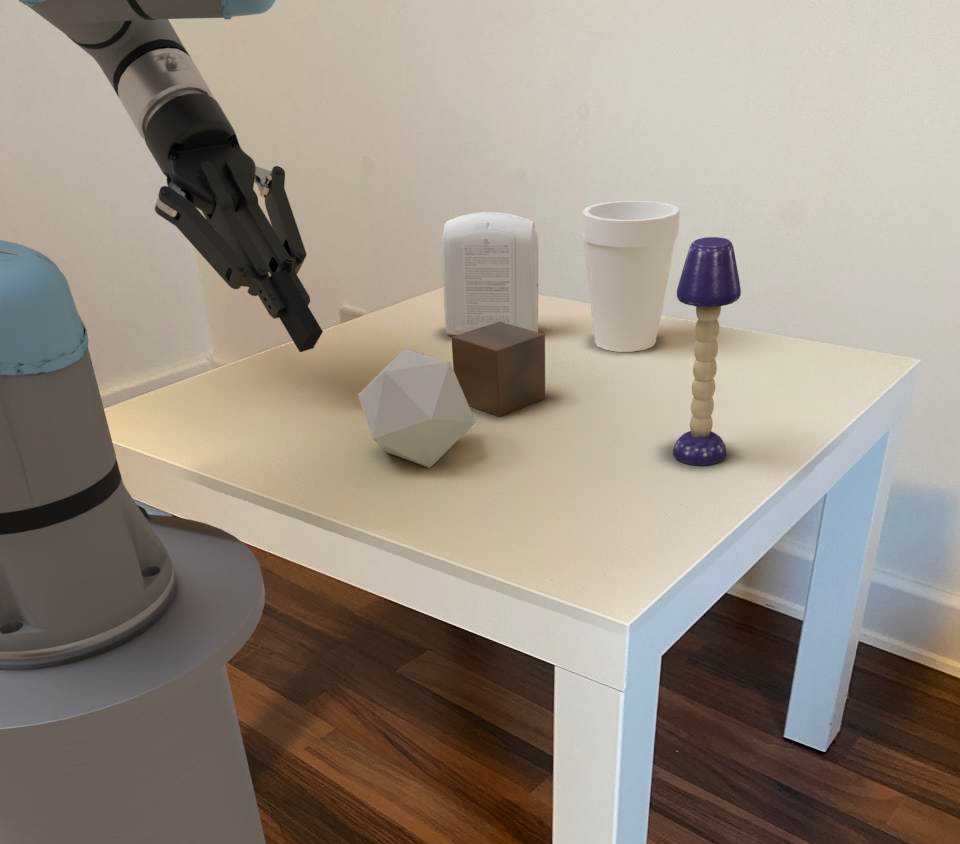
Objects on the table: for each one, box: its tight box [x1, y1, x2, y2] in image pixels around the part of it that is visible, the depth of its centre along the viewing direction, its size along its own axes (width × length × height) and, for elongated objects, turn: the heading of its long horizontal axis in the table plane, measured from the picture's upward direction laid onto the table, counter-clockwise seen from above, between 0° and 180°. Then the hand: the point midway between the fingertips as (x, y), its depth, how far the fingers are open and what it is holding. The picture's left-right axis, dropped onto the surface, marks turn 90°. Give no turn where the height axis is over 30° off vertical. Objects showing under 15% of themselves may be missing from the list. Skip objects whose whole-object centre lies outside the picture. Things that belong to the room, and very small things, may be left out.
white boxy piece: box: [441, 211, 539, 336], centre depth 107 cm, size 10×4×12 cm, turn 81°
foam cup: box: [580, 199, 681, 353], centre depth 102 cm, size 10×9×13 cm
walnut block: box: [451, 322, 546, 417], centre depth 92 cm, size 6×6×6 cm
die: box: [357, 348, 477, 469], centre depth 82 cm, size 8×9×10 cm
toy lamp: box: [672, 236, 742, 466], centre depth 77 cm, size 5×5×17 cm
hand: (311, 341), depth 90 cm, fingers closed
